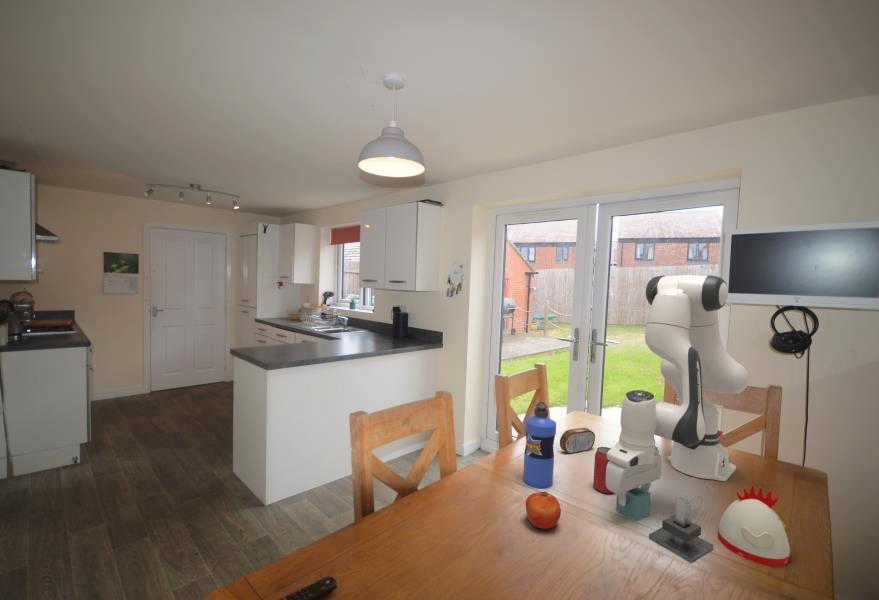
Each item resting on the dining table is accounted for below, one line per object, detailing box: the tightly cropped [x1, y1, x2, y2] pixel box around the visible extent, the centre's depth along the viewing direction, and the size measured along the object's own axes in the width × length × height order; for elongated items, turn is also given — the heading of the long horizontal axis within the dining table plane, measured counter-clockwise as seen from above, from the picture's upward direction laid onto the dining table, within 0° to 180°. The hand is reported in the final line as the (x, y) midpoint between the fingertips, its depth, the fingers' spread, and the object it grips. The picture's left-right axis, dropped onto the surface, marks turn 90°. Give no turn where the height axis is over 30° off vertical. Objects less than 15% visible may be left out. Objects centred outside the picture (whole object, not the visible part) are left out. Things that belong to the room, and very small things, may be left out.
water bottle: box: [522, 401, 557, 490], centre depth 128 cm, size 9×9×25 cm
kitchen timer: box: [717, 484, 791, 567], centre depth 100 cm, size 14×14×15 cm
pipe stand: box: [648, 496, 714, 563], centre depth 100 cm, size 10×10×11 cm
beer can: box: [592, 446, 614, 494], centre depth 125 cm, size 7×7×12 cm
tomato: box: [525, 490, 562, 530], centre depth 106 cm, size 9×9×8 cm
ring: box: [661, 513, 702, 542], centre depth 100 cm, size 6×6×2 cm
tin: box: [559, 427, 596, 454], centre depth 152 cm, size 15×3×8 cm, turn 114°
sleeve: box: [615, 486, 652, 522], centre depth 113 cm, size 6×6×6 cm
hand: (633, 500), depth 113 cm, fingers open, 8 cm apart
